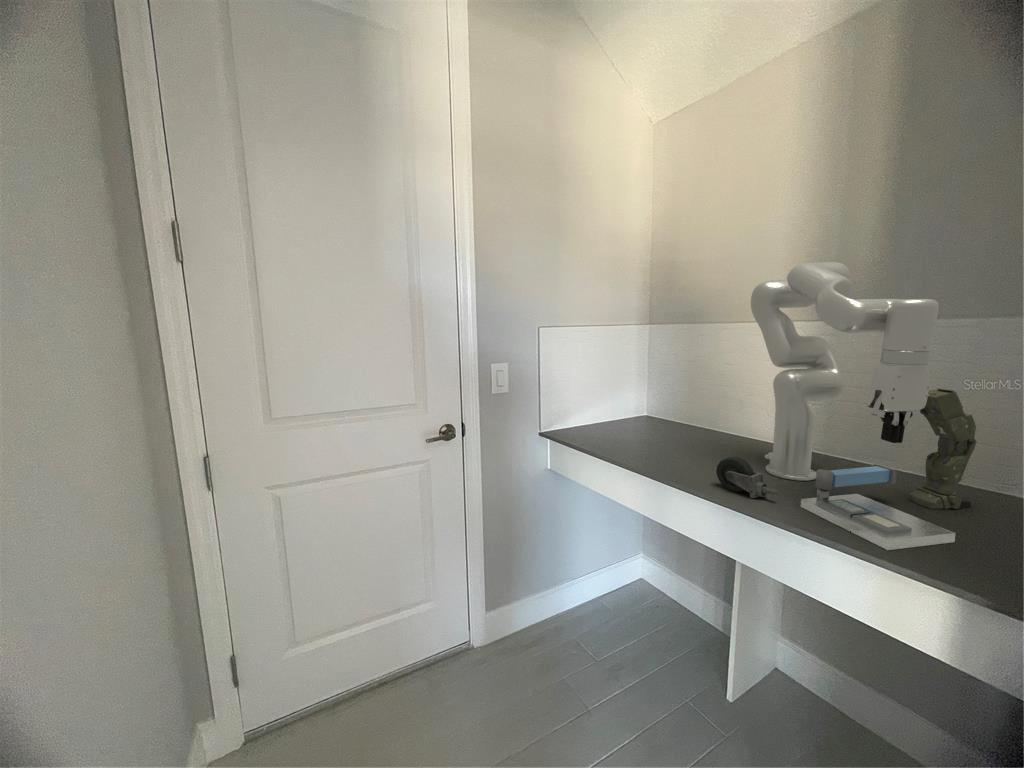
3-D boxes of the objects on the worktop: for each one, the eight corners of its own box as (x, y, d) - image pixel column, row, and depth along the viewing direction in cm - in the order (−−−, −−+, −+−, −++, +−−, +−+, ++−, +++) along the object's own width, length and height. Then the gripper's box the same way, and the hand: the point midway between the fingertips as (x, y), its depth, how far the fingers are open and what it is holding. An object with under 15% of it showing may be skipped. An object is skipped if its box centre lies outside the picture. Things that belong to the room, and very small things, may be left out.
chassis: (799, 506, 99) (801, 488, 98) (855, 500, 101) (857, 483, 100) (887, 550, 79) (890, 528, 78) (954, 542, 81) (957, 520, 81)
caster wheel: (713, 490, 112) (772, 504, 99) (712, 456, 111) (770, 466, 99) (725, 486, 115) (782, 498, 102) (723, 453, 114) (781, 461, 102)
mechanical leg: (958, 493, 102) (945, 380, 98) (992, 505, 95) (980, 384, 91) (906, 507, 102) (890, 395, 98) (936, 520, 95) (921, 400, 91)
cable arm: (826, 491, 95) (827, 475, 95) (809, 484, 100) (811, 469, 99) (895, 484, 98) (897, 468, 98) (876, 477, 103) (878, 462, 102)
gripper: (915, 355, 89) (902, 434, 93) (856, 357, 88) (845, 437, 91) (956, 359, 82) (940, 444, 85) (892, 362, 80) (878, 449, 84)
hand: (891, 440), depth 88 cm, fingers closed
